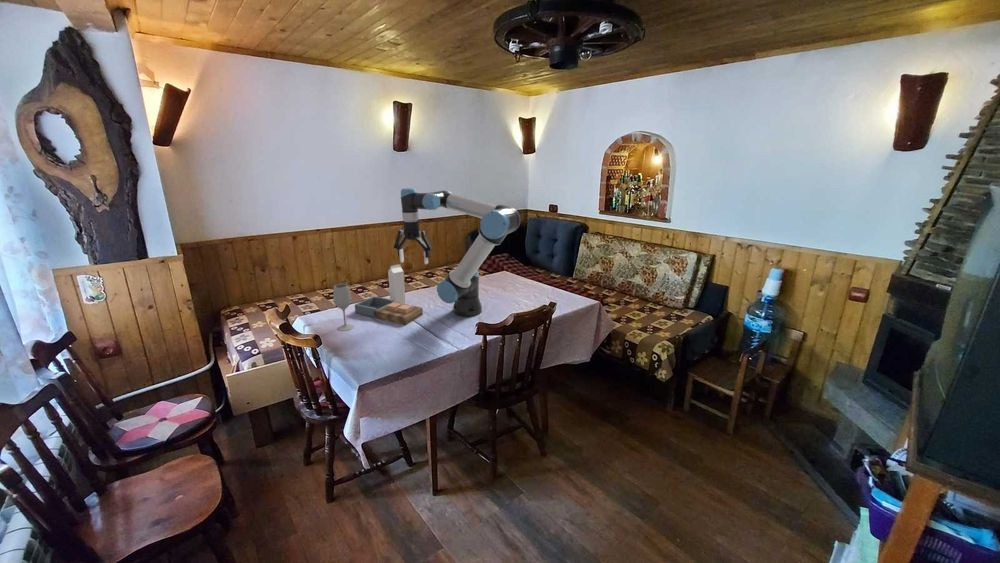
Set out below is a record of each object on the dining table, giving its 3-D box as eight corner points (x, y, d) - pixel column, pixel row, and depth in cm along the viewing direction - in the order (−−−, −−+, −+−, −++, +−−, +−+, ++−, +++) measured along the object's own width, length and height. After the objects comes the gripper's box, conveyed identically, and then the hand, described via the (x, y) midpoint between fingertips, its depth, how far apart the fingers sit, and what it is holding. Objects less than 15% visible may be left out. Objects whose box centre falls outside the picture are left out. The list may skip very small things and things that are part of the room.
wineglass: (338, 332, 180) (332, 289, 174) (336, 325, 187) (331, 284, 180) (355, 329, 184) (350, 287, 177) (353, 323, 190) (348, 282, 183)
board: (422, 314, 201) (422, 307, 200) (406, 325, 189) (405, 317, 188) (394, 308, 208) (393, 301, 207) (376, 318, 196) (375, 311, 194)
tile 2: (412, 309, 197) (412, 306, 196) (406, 313, 193) (405, 309, 192) (404, 308, 199) (403, 304, 198) (397, 311, 195) (397, 307, 194)
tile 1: (401, 307, 200) (401, 303, 199) (395, 310, 195) (395, 307, 195) (393, 305, 201) (393, 302, 201) (387, 309, 197) (387, 305, 196)
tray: (393, 308, 208) (393, 299, 206) (375, 318, 196) (374, 309, 194) (374, 304, 213) (373, 296, 211) (355, 313, 201) (354, 304, 199)
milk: (405, 304, 215) (403, 265, 208) (395, 306, 211) (393, 267, 204) (400, 300, 219) (397, 262, 212) (390, 303, 215) (387, 264, 208)
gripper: (437, 220, 191) (439, 262, 197) (392, 218, 198) (396, 259, 204) (430, 222, 184) (433, 266, 191) (384, 221, 191) (388, 263, 197)
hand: (414, 262), depth 197 cm, fingers open, 13 cm apart
